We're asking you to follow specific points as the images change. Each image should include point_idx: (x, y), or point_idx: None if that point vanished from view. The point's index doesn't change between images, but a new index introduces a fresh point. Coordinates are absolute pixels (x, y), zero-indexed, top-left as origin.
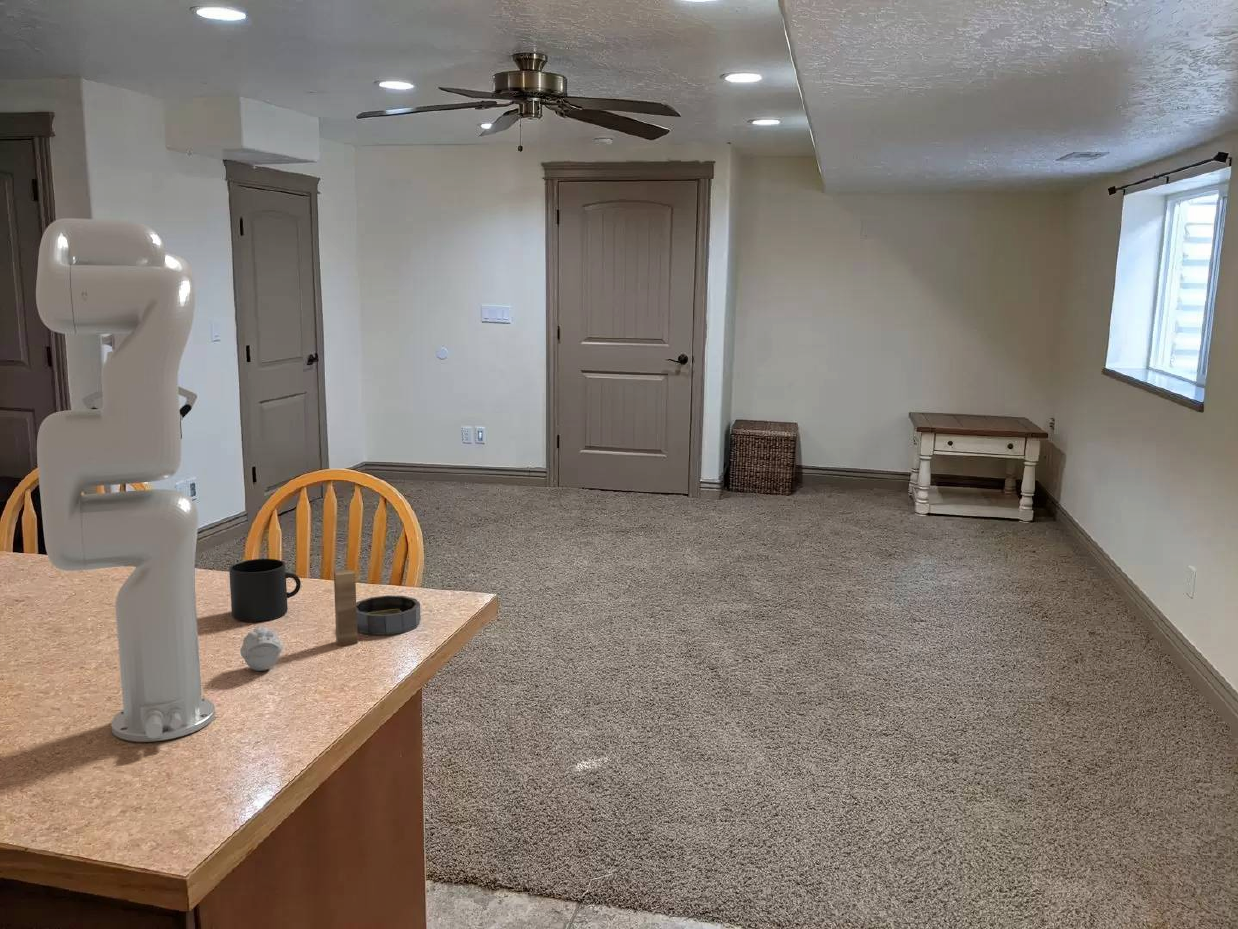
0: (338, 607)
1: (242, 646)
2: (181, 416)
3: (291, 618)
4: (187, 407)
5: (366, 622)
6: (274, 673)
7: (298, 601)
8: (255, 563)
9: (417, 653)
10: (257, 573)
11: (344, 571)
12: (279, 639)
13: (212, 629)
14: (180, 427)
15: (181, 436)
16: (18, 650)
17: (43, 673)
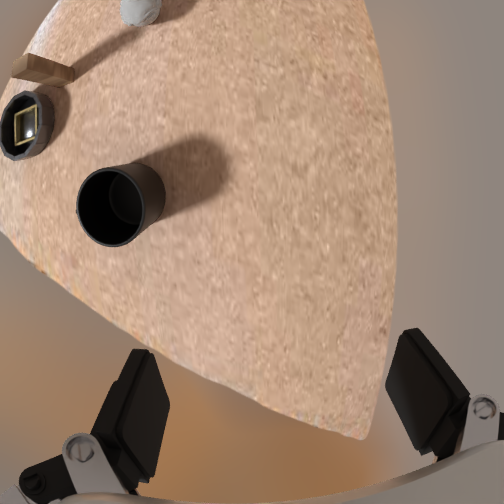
0: (50, 61)
1: (157, 8)
2: (69, 452)
3: None
4: (28, 481)
5: (41, 95)
6: None
7: None
8: (116, 242)
9: (31, 48)
10: (107, 167)
11: (18, 68)
12: (120, 3)
13: (188, 153)
14: (101, 414)
15: (115, 383)
16: (389, 163)
17: (359, 78)
